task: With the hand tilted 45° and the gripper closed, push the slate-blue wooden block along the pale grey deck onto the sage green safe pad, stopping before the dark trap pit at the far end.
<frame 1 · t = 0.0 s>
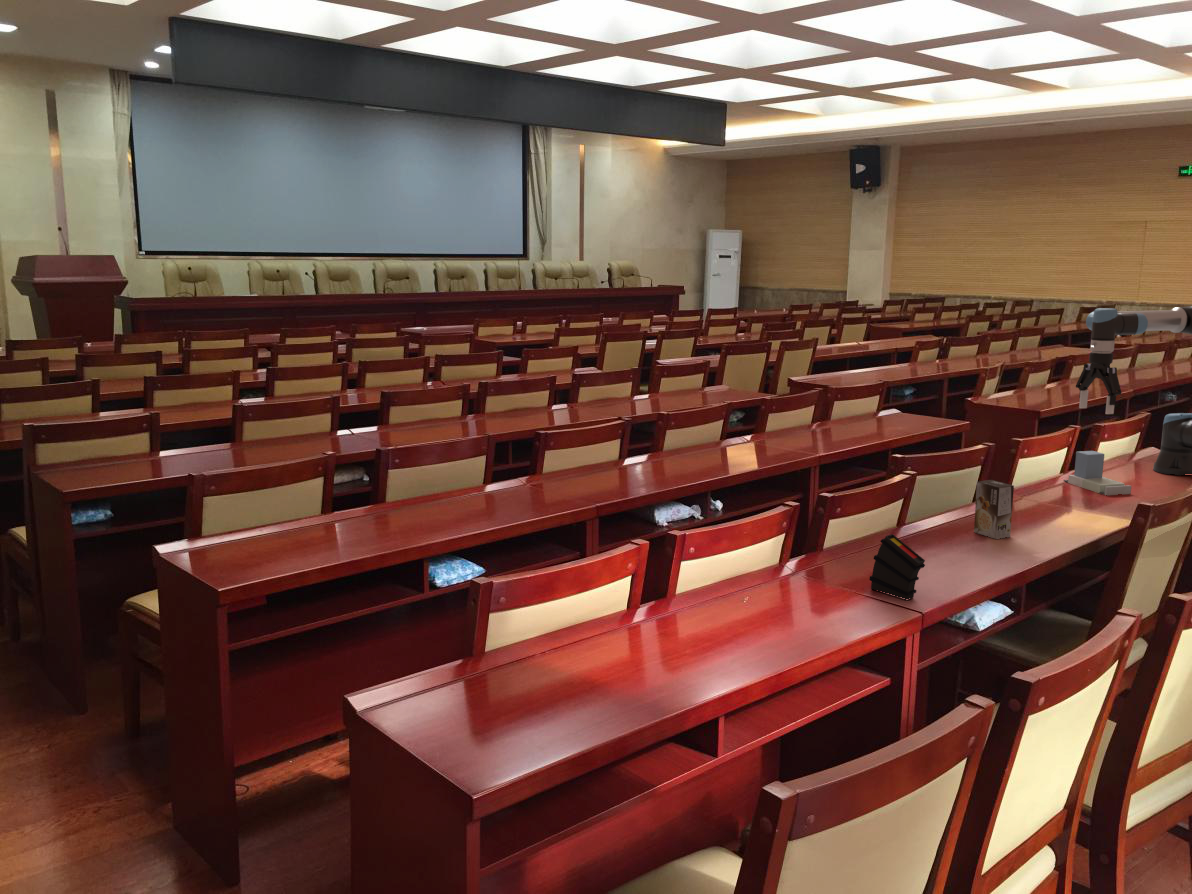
hand: (1095, 411, 346), 28 cm above the table, tool pointing down, fingers open, 13 cm apart
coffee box: (991, 535, 292), on the table
trap deck: (1095, 487, 350), on the table
magazine: (895, 596, 241), on the table
block: (1088, 476, 354), point 3 cm above the table, touching trap deck
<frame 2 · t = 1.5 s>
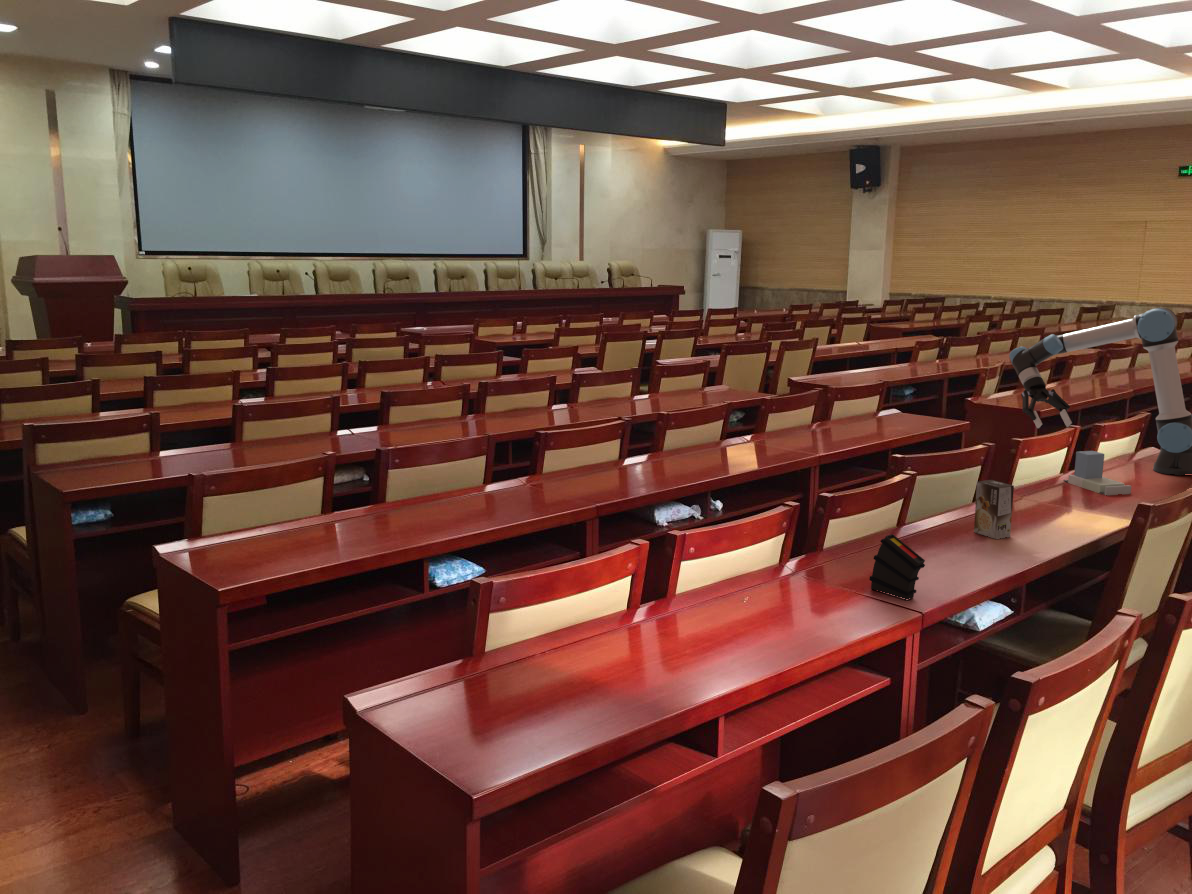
hand: (1054, 425, 370), 19 cm above the table, tool tilted 45°, fingers open, 12 cm apart
nothing on the table moved.
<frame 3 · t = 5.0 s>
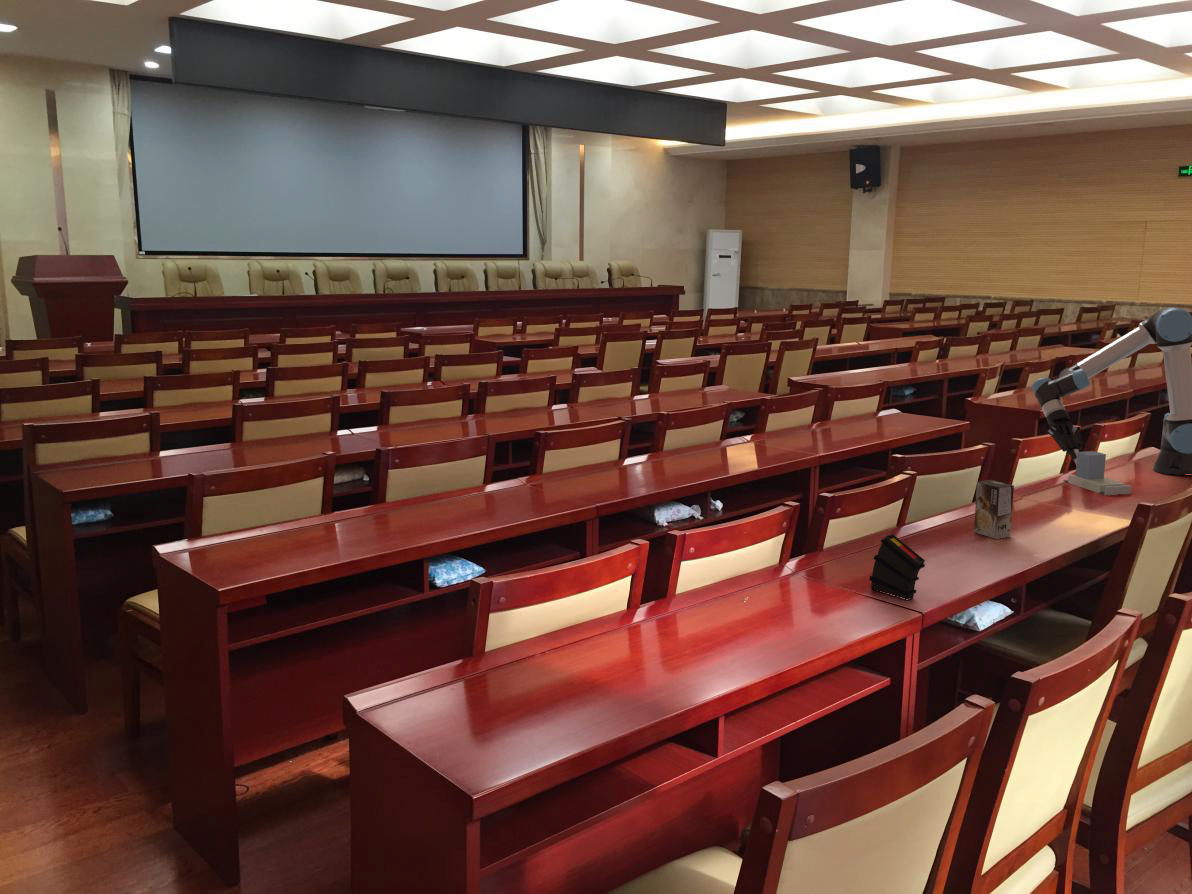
hand: (1081, 465, 356), 6 cm above the table, tool tilted 45°, fingers closed
block: (1089, 477, 353), point 3 cm above the table, touching gripper, trap deck
everything else where it was.
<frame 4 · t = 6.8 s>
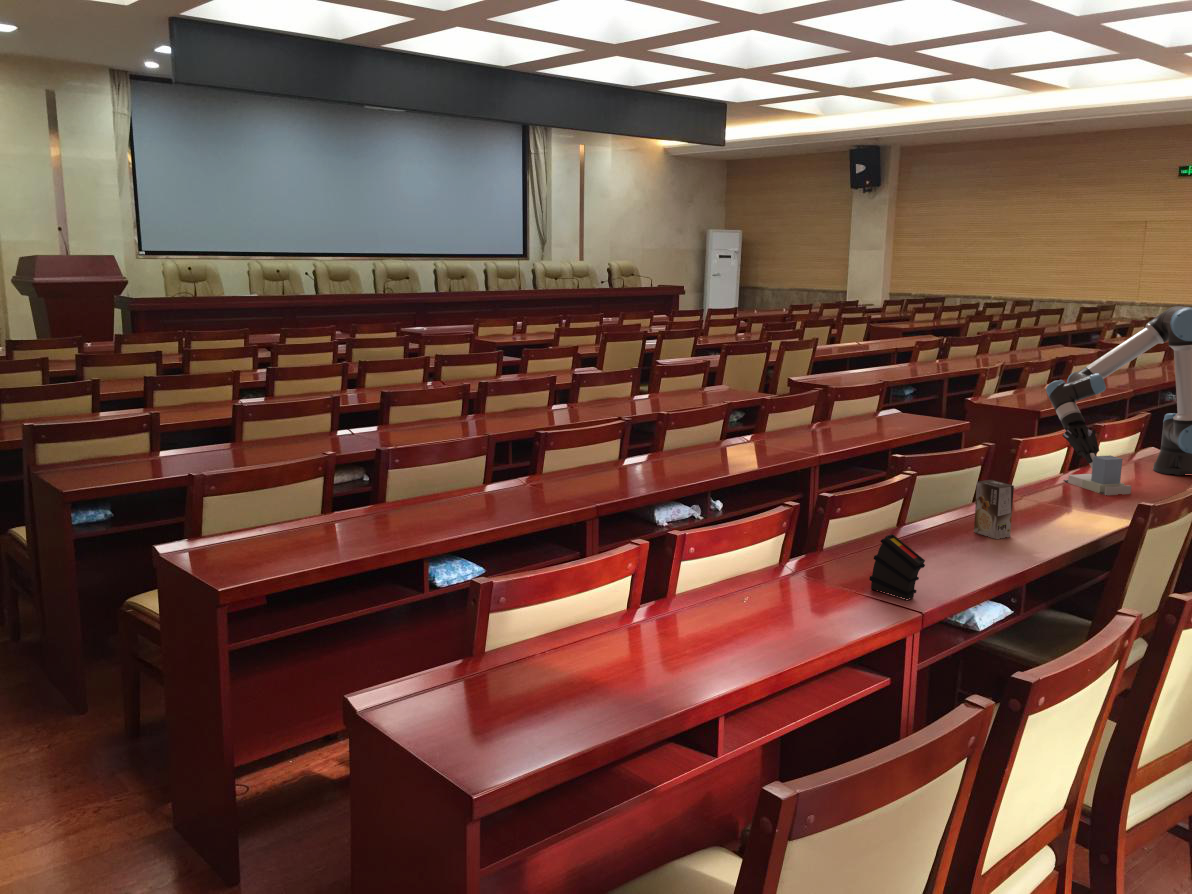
hand: (1097, 469, 349), 7 cm above the table, tool tilted 45°, fingers closed
block: (1105, 482, 345), point 3 cm above the table, touching gripper, trap deck
everything else where it was.
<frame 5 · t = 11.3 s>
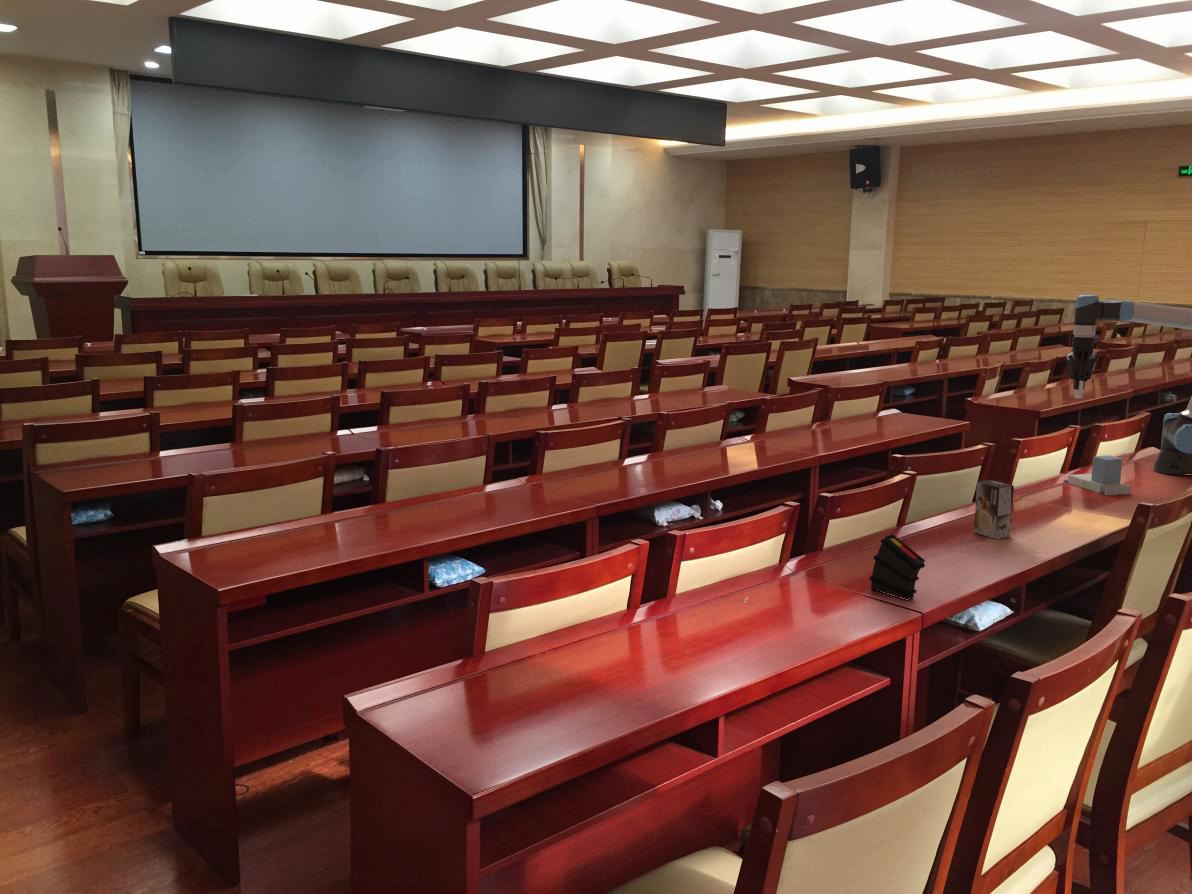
hand: (1078, 397, 368), 29 cm above the table, tool pointing down, fingers closed
block: (1105, 482, 345), point 3 cm above the table, touching trap deck
everything else where it was.
at the end: block 0.7 cm from the target spot, point 3.0 cm above the table; block tilted 0° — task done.
